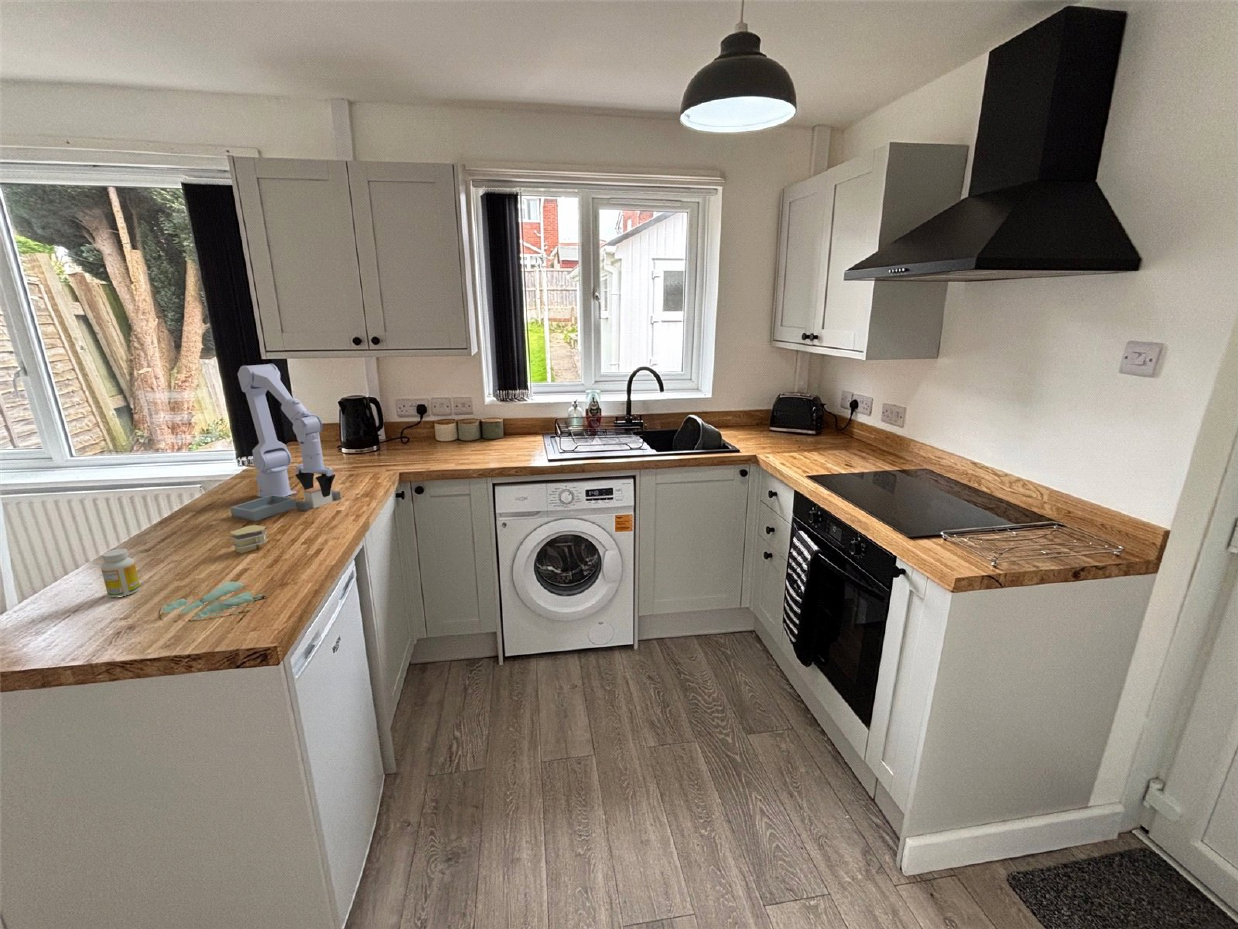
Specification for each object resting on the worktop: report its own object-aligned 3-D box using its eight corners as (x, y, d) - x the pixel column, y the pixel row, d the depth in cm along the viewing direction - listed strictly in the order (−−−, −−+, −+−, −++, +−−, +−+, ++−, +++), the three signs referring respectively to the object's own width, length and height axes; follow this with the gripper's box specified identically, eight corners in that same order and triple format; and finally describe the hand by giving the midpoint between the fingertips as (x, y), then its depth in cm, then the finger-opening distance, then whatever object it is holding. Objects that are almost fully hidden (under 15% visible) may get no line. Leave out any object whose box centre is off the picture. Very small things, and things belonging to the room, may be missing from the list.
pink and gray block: (306, 506, 174) (303, 490, 173) (325, 500, 181) (322, 484, 179) (313, 508, 173) (311, 491, 172) (332, 501, 179) (330, 485, 178)
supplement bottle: (110, 601, 116) (99, 559, 113) (106, 593, 119) (95, 553, 117) (143, 591, 120) (133, 551, 117) (138, 584, 123) (128, 545, 121)
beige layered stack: (239, 560, 136) (235, 539, 135) (222, 552, 141) (218, 532, 140) (280, 546, 145) (277, 527, 143) (263, 539, 149) (260, 520, 148)
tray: (231, 516, 166) (230, 507, 165) (274, 503, 178) (273, 494, 177) (255, 521, 162) (253, 511, 161) (297, 507, 174) (295, 498, 173)
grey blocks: (296, 509, 172) (295, 501, 171) (332, 497, 183) (331, 490, 183) (305, 510, 170) (304, 503, 170) (340, 498, 182) (339, 491, 181)
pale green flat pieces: (143, 613, 112) (140, 602, 112) (256, 572, 130) (254, 563, 130) (186, 643, 102) (184, 631, 101) (303, 594, 120) (302, 584, 119)
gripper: (284, 454, 172) (291, 495, 175) (316, 459, 166) (323, 501, 170) (304, 450, 178) (311, 489, 181) (336, 453, 172) (342, 494, 176)
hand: (318, 494), depth 176 cm, fingers open, 7 cm apart
